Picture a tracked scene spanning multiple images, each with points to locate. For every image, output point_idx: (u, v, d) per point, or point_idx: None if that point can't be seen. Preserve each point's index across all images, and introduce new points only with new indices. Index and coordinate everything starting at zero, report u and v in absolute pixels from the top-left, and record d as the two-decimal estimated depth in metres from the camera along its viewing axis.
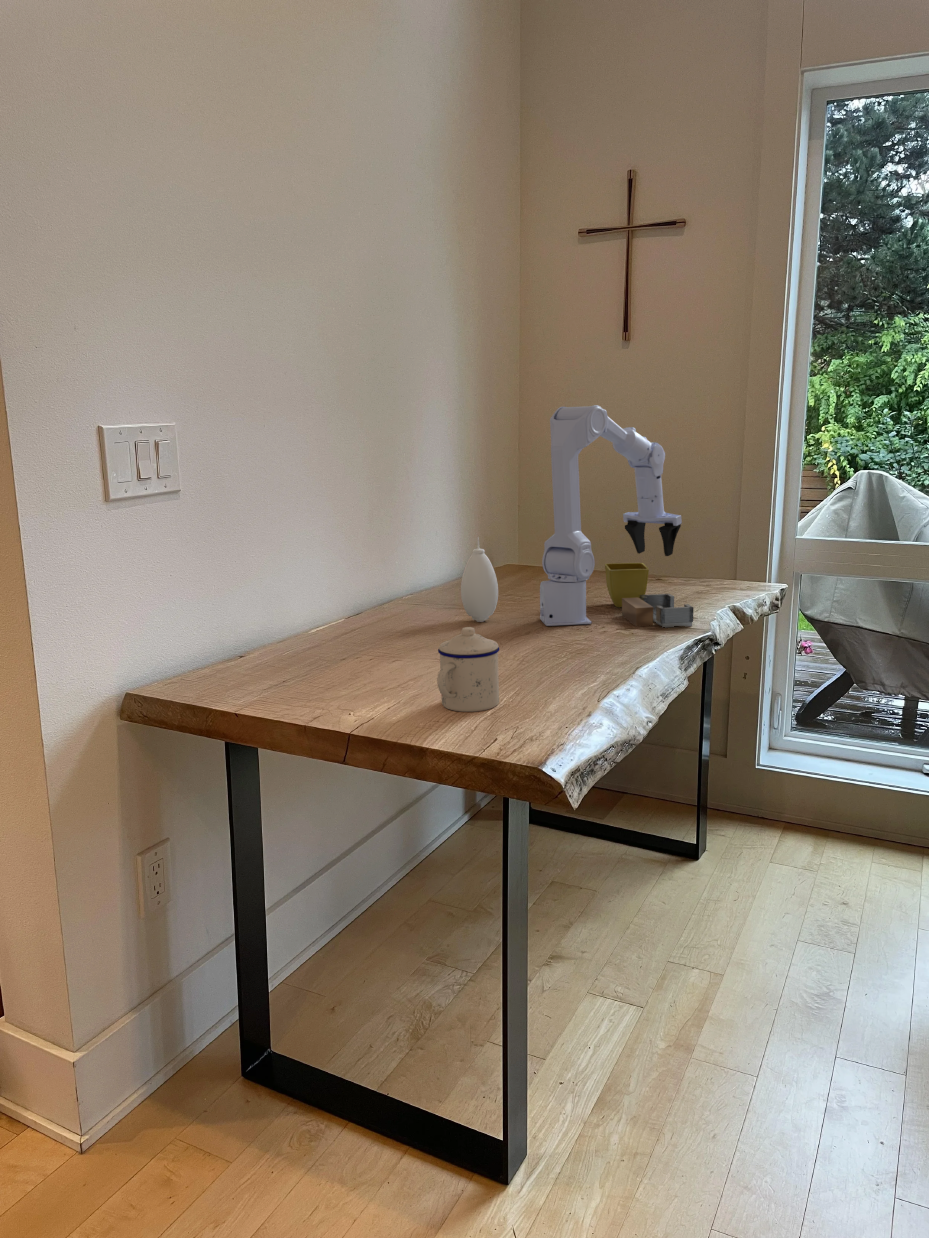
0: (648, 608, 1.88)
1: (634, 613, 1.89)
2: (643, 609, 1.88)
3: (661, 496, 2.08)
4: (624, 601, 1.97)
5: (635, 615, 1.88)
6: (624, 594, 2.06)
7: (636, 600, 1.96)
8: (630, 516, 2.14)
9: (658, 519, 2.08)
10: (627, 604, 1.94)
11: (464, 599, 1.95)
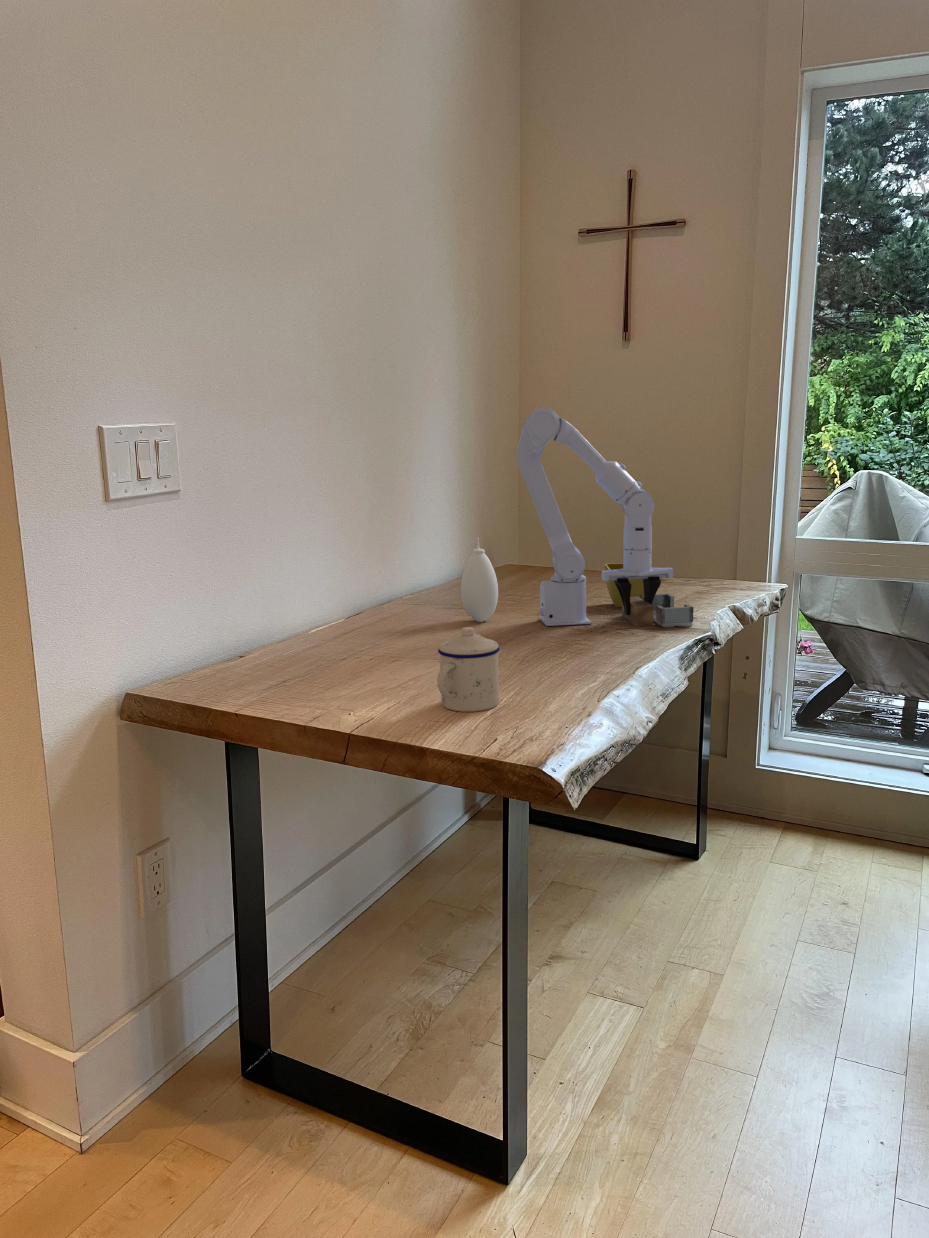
0: (648, 607, 1.88)
1: (634, 612, 1.89)
2: (643, 608, 1.88)
3: (624, 550, 1.90)
4: None
5: (635, 614, 1.88)
6: None
7: (636, 599, 1.96)
8: None
9: None
10: None
11: (464, 599, 1.95)
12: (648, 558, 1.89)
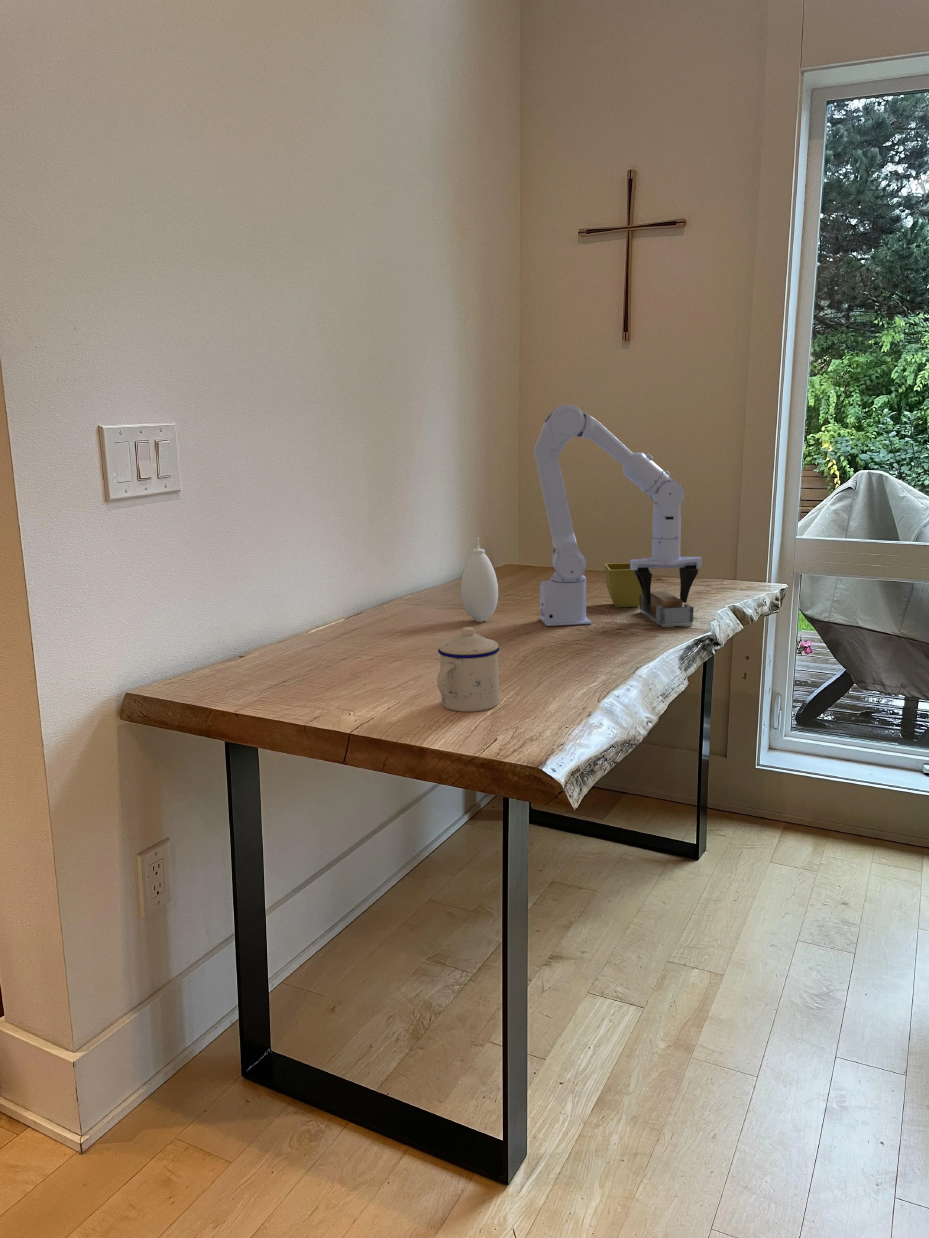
0: (677, 601, 1.88)
1: (663, 606, 1.89)
2: (672, 602, 1.88)
3: (653, 539, 1.90)
4: (652, 595, 1.97)
5: None
6: (624, 594, 2.06)
7: (664, 594, 1.96)
8: None
9: None
10: (655, 598, 1.94)
11: (464, 599, 1.95)
12: (677, 546, 1.89)
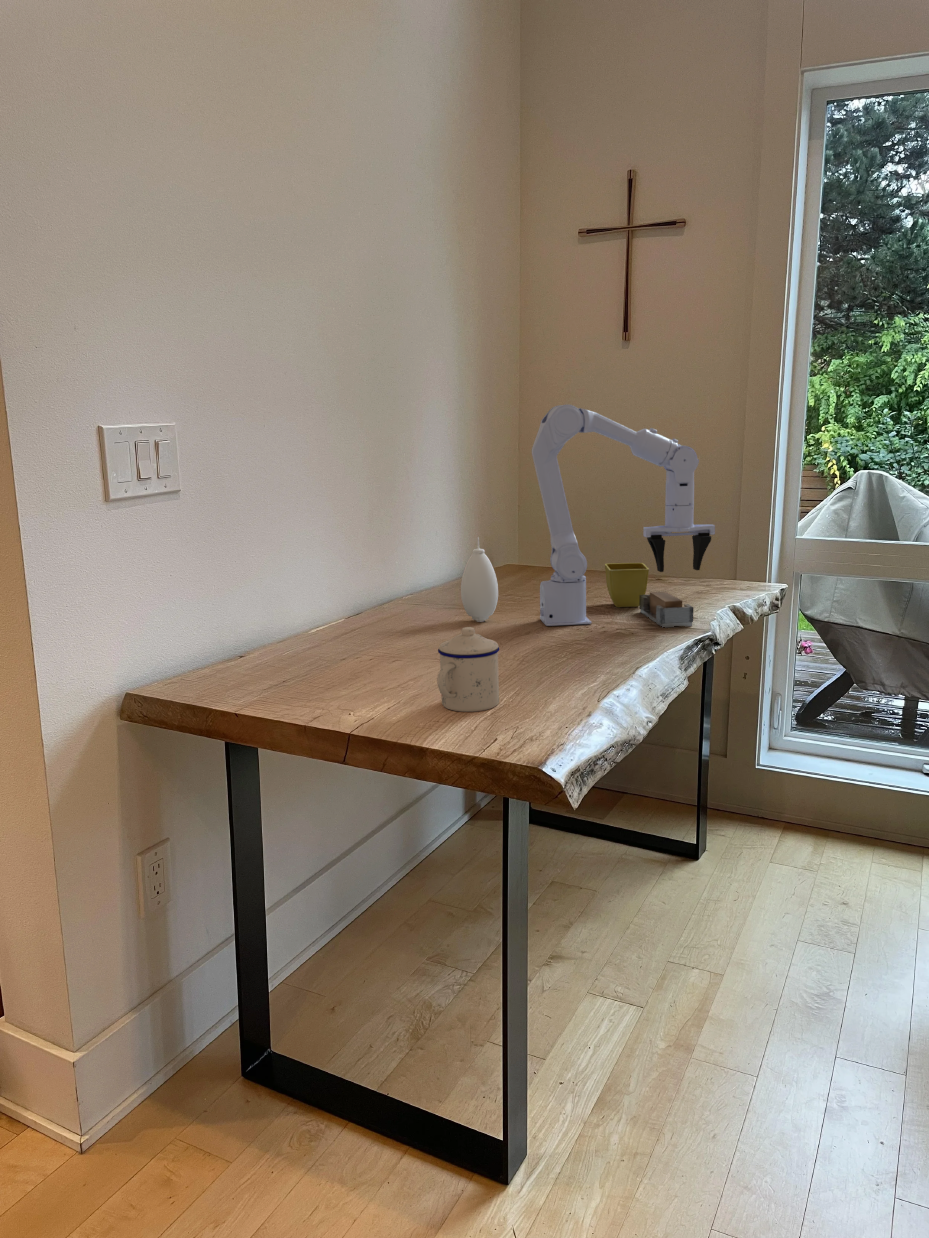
0: (677, 601, 1.88)
1: (663, 606, 1.89)
2: (672, 602, 1.88)
3: (667, 506, 1.90)
4: (652, 595, 1.97)
5: None
6: (624, 594, 2.06)
7: (664, 594, 1.96)
8: None
9: None
10: (655, 598, 1.94)
11: (464, 599, 1.95)
12: (691, 513, 1.89)
